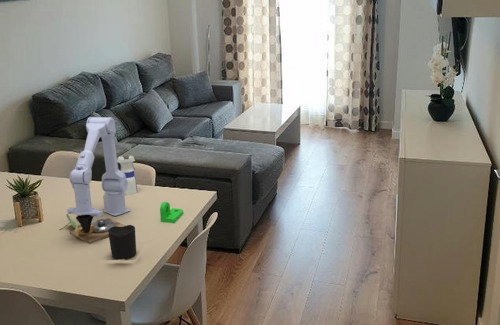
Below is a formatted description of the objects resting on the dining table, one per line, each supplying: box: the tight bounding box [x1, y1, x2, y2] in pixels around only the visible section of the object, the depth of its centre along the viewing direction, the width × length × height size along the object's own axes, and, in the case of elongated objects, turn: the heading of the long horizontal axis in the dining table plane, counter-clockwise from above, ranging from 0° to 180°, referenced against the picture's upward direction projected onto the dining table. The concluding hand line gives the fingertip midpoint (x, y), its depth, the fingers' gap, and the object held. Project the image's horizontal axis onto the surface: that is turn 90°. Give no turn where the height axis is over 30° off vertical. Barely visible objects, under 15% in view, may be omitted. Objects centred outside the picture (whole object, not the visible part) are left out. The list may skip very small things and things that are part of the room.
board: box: [69, 218, 127, 245], centre depth 221 cm, size 15×18×4 cm
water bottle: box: [117, 142, 138, 196], centre depth 259 cm, size 8×9×25 cm
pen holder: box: [108, 224, 137, 261], centre depth 199 cm, size 9×9×10 cm
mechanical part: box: [159, 201, 184, 224], centre depth 233 cm, size 12×6×8 cm, turn 164°
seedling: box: [59, 213, 78, 231], centre depth 224 cm, size 7×8×7 cm
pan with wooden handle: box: [74, 218, 114, 237], centre depth 220 cm, size 16×10×3 cm, turn 136°
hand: (87, 232), depth 214 cm, fingers closed
